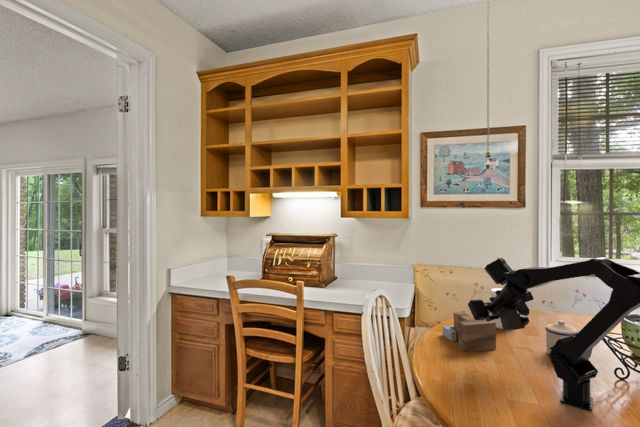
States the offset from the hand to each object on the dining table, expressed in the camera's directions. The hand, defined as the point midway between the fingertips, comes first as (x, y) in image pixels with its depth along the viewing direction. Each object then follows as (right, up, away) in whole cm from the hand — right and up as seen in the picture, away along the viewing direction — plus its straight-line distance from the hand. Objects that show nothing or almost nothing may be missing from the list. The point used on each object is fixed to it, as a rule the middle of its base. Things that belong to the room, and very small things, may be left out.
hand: (487, 320), depth 116 cm
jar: (+20, -11, +29) cm, 37 cm away
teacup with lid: (+26, -12, 0) cm, 28 cm away
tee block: (-1, -12, +11) cm, 16 cm away
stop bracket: (-2, -12, +17) cm, 21 cm away
